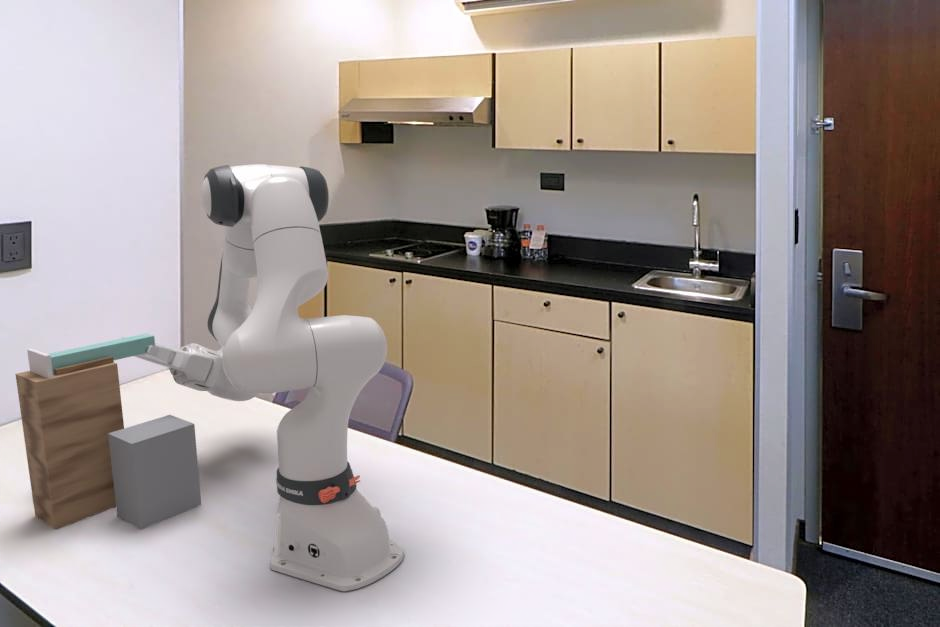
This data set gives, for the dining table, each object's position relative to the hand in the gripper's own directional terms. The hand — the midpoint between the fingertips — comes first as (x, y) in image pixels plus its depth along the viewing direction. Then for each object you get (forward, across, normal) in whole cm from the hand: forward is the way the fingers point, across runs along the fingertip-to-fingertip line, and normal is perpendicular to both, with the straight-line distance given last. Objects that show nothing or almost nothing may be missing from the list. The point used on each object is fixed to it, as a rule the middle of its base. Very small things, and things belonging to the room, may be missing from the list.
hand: (134, 345), depth 144 cm
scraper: (+5, 0, +5) cm, 7 cm away
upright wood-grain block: (-3, 0, +31) cm, 31 cm away
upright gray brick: (-10, +12, +27) cm, 31 cm away
